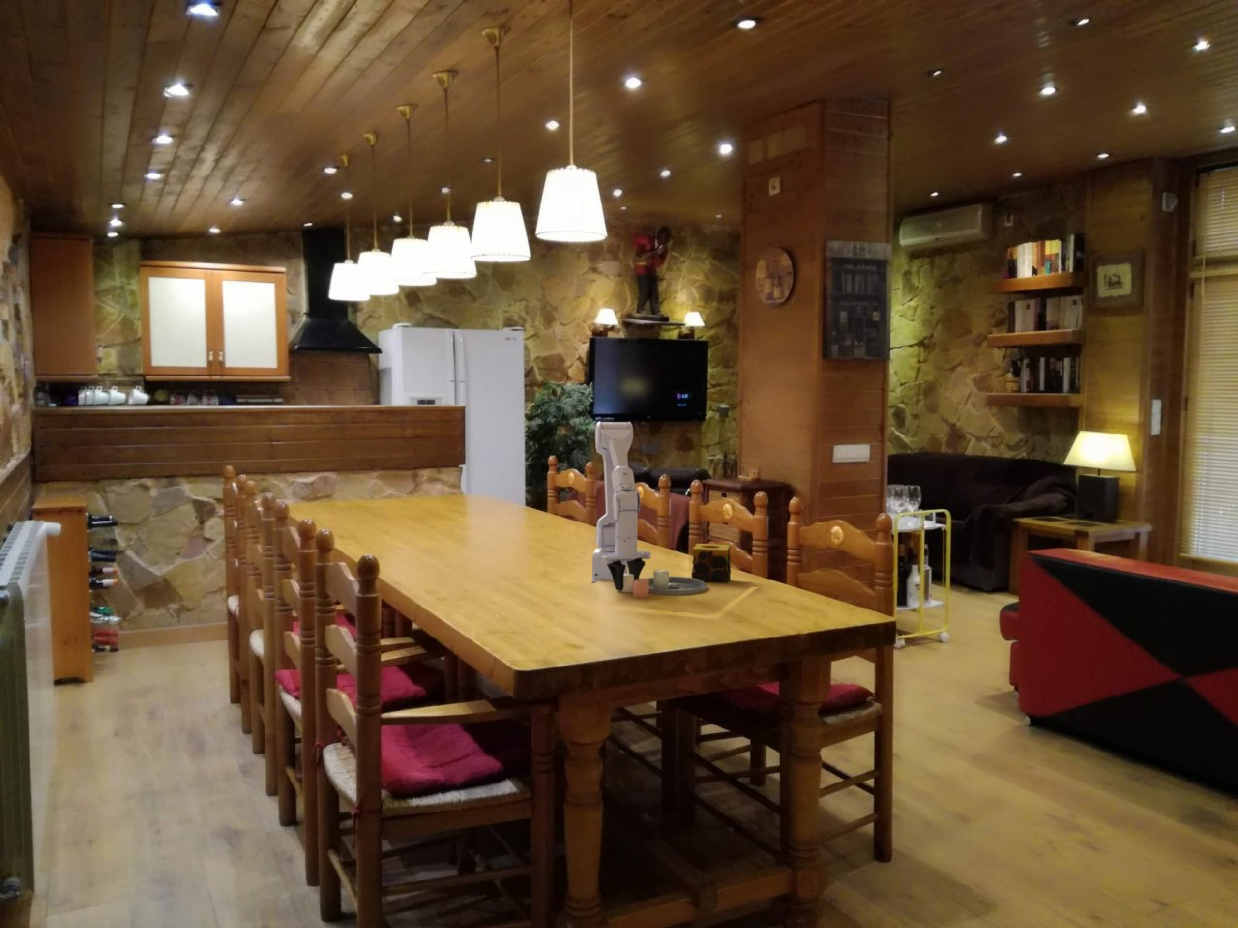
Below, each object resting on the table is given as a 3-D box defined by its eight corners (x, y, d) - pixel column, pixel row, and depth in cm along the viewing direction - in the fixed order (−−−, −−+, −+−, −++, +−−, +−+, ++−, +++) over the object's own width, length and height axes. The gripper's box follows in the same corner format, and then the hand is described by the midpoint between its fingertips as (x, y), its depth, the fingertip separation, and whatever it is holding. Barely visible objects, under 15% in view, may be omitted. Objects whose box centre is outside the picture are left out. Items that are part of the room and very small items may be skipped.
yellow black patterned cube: (728, 587, 257) (728, 550, 256) (691, 585, 259) (691, 548, 258) (731, 579, 267) (732, 544, 266) (695, 578, 269) (696, 543, 268)
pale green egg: (651, 591, 245) (651, 572, 245) (656, 588, 249) (656, 569, 249) (665, 592, 244) (666, 573, 244) (670, 589, 248) (671, 570, 247)
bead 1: (615, 595, 245) (616, 575, 245) (621, 591, 249) (621, 573, 249) (630, 596, 244) (630, 577, 244) (635, 593, 248) (636, 574, 247)
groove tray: (629, 594, 245) (629, 586, 245) (652, 582, 262) (652, 574, 261) (694, 601, 239) (694, 592, 239) (713, 587, 255) (713, 579, 255)
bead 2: (630, 601, 239) (630, 581, 238) (636, 597, 242) (636, 578, 242) (645, 602, 237) (645, 582, 237) (650, 599, 241) (651, 579, 240)
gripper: (613, 541, 238) (612, 594, 239) (657, 536, 246) (657, 587, 248) (596, 537, 243) (596, 589, 244) (641, 532, 252) (640, 583, 253)
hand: (626, 588), depth 246 cm, fingers closed on bead 1, 4 cm apart
